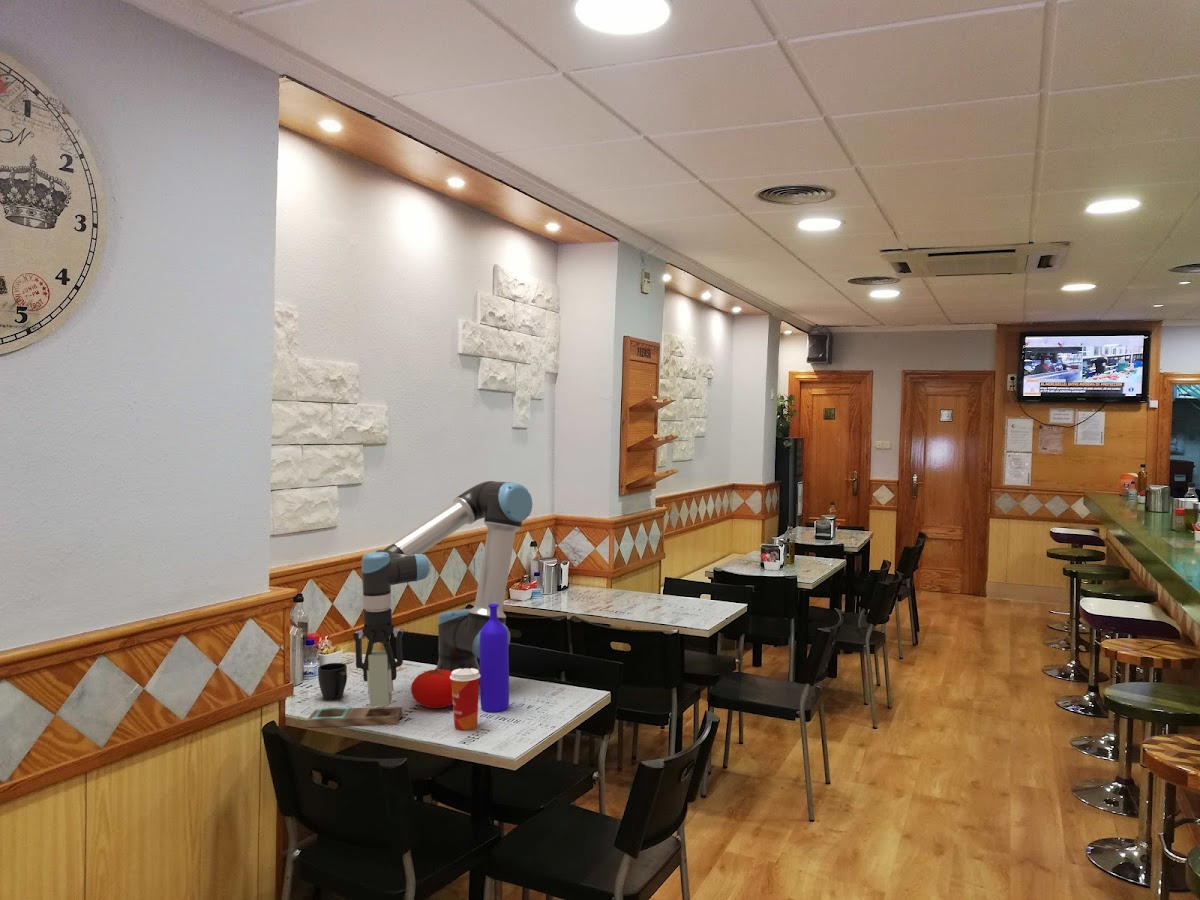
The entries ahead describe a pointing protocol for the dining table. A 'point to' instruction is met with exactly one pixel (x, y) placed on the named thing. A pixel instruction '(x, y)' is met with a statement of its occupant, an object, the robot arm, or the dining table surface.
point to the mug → (332, 680)
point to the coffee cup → (465, 697)
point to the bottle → (494, 664)
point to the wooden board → (354, 716)
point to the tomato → (433, 688)
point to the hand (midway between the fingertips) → (380, 691)
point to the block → (379, 678)
